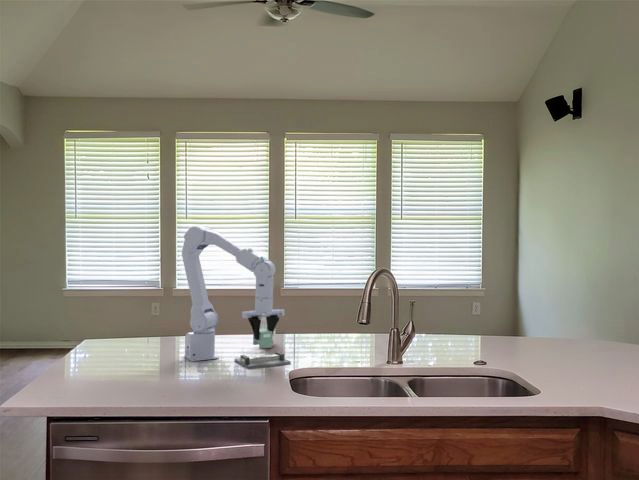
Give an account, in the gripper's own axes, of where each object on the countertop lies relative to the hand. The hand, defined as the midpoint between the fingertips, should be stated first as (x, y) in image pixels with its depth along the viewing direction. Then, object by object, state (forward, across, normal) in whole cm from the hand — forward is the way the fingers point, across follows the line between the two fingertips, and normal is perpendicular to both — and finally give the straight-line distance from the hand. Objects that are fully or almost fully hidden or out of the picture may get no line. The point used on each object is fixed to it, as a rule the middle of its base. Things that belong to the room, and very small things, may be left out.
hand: (263, 338), depth 178 cm
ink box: (+8, +13, +23) cm, 27 cm away
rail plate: (+8, 0, 0) cm, 8 cm away
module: (+2, 0, 0) cm, 2 cm away
